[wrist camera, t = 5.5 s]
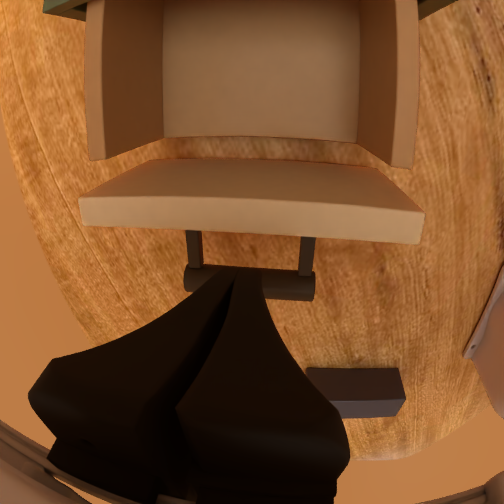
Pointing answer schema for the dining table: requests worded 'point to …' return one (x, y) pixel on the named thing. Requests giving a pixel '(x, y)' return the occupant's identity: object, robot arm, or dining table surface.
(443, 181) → the dining table surface
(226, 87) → the drawer
